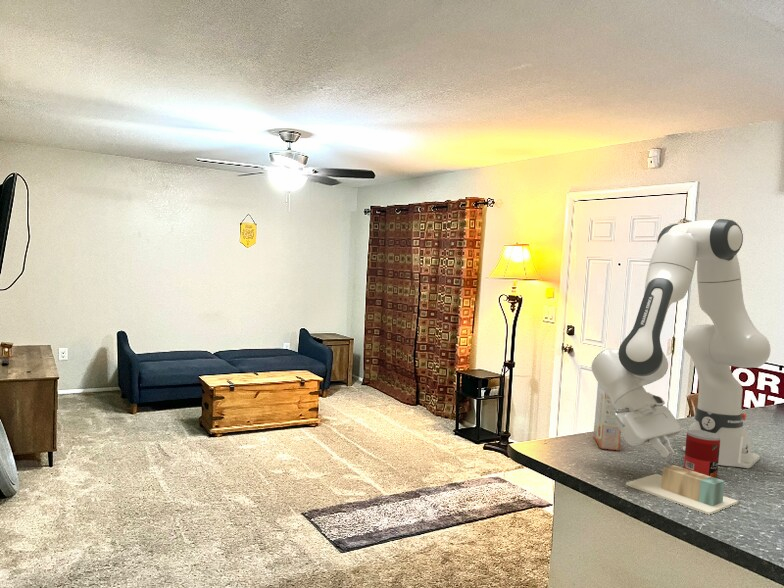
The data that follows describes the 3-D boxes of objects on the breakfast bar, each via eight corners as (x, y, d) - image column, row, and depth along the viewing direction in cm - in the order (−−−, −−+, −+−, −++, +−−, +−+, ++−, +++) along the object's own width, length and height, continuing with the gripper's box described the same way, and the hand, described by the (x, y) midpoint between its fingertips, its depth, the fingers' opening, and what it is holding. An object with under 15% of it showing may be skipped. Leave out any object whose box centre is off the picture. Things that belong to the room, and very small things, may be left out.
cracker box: (620, 451, 172) (626, 381, 171) (599, 449, 173) (604, 379, 172) (612, 439, 185) (617, 374, 185) (592, 436, 187) (597, 372, 186)
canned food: (716, 482, 150) (719, 439, 149) (682, 474, 154) (685, 433, 154) (717, 474, 156) (721, 433, 156) (684, 467, 161) (688, 428, 160)
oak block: (673, 464, 144) (724, 480, 134) (671, 484, 144) (722, 502, 134) (662, 468, 141) (714, 484, 131) (661, 488, 141) (712, 506, 131)
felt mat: (656, 476, 152) (656, 473, 152) (737, 503, 135) (738, 500, 135) (625, 484, 143) (625, 482, 143) (709, 515, 127) (709, 512, 127)
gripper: (620, 403, 141) (656, 454, 134) (665, 397, 153) (699, 443, 146) (603, 417, 145) (636, 468, 138) (647, 409, 157) (680, 456, 150)
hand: (669, 455), depth 142 cm, fingers closed
